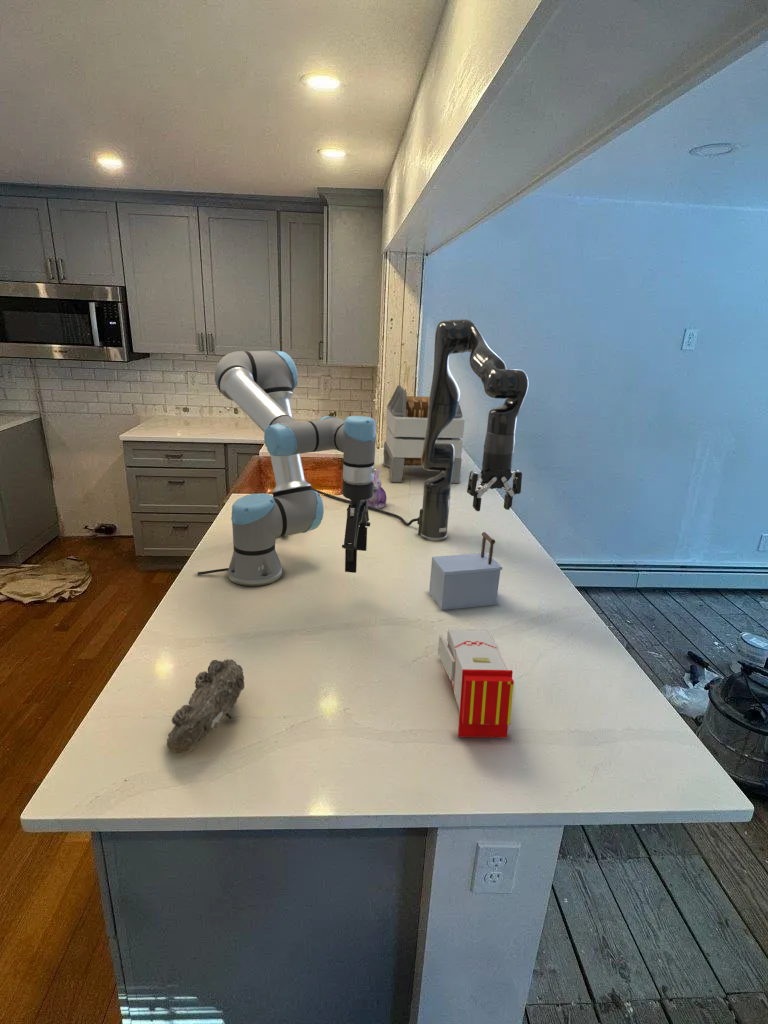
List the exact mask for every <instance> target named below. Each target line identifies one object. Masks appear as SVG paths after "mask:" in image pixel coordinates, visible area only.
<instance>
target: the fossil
mask: <svg viewBox="0 0 768 1024" xmlns="http://www.w3.org/2000/svg"><path fill="white" fill-rule="evenodd" d="M243 670H244V669H243V667H242V665H240V664H237V662H236V661H235V660H234V659H232V658H231V659H227V658H226V659H224V660H223V661H222V660H217V659H212V660H211V661H210V663H209V665H208V666H207V671H201V672H199V673H198V674H197V675H196V676H195V680H194V684H195V685H194V687H195V689H194V690H193V693H192V694H191V697H190V698H189V700H188V704H184V705H182V706H181V707H180V709H177V710H176V711H175V713H174V715H173V716H172V718H171V723H172V724H173V727H172V730H171V731H170V732H168V734H167V738H166V741H167V742H166V745H167V749H168V750H169V751H173V752H174V753H176V754H178V753H182V752H188V751H189V752H192V751H193V750H195V748H196V747H197V746H199V744H200V743H201V742H203V741H204V740H205V739H206V738H207V737H208V736H209V735H210V734H211V733H212V732H214V730H215V729H217V727H218V726H219V724H220V722H221V721H222V720H223V719H224V718H225V716H226V717H227V719H229V720H233V717H232V715H230V714H229V710H230V709H231V708H234V706H235V704H236V703H237V702H238V699H239V697H240V695H241V693H242V691H243V690H245V689H244V688H245V675H244V671H243Z"/></svg>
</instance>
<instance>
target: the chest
mask: <svg viewBox="0 0 768 1024" xmlns="http://www.w3.org/2000/svg"><path fill="white" fill-rule="evenodd" d="M430 564H431V565H430V579H429V589H428V590H429V591H428V594H429V596H430V597H431V598H432V599H433V601H434V602H435V603H436V605H437V606H438V608H439V610H441V611H447V610H457V609H467V608H475V607H485V606H486V607H487V606H493V605H497V601H498V600H497V599H498V591H499V584H500V577H501V576H500V575H501V570H498V571H487V572H475V573H463V574H452V575H444V574H443V573H442V571H441V570H440V569H439V568H438V567H437V565H436V564H435V563H434V562H433V561H432V560H431V563H430Z"/></svg>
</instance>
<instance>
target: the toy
mask: <svg viewBox="0 0 768 1024" xmlns="http://www.w3.org/2000/svg"><path fill="white" fill-rule="evenodd" d="M446 640H447V643H446V641H445V639H444V636H443V635H442V634H439V637H438V646H437V656H438V657H439V659H440V661H441V663H442V666H443V668H444V670H445V672H446V674H447V677H448V679H449V681H450V684H451V687H452V690H453V693H454V697H455V701H456V705H457V708H458V711H459V714H458V715H459V716H458V730H457V731H458V732H457V737H458V738H508V731H509V726H510V725H511V717H512V707H513V697H514V696H513V695H514V684H515V680H514V679H513V673H514V671H513V670H512V669H508V667H507V665H506V662H505V661H504V659H503V658H502V655H501V653H500V651H499V649H498V647H497V643H496V639H495V637H494V635H493V634H491V632H490V631H489V629H467V628H466V629H465V628H463V629H461V628H460V629H459V628H448V630H447V639H446Z"/></svg>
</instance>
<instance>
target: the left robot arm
mask: <svg viewBox="0 0 768 1024" xmlns="http://www.w3.org/2000/svg"><path fill="white" fill-rule="evenodd" d="M214 370H215V371H214V382H215V386H216V388H217V389H218V391H219V392H220V393H221V394H222V396H223V397H224V398H226V399H227V400H229V401H233V402H234V403H235V404H236V405H237V406H238V407H239V408H240V409H241V410H242V411H243V412H244V413H245V415H247V416H248V417H249V418H250V419H251V420H252V422H254V424H256V426H257V427H258V428H259V429H260V430H261V431H262V432H263V433H264V434H263V438H264V445H265V447H266V450H267V452H268V453H269V457H270V461H271V466H272V471H273V476H274V483H275V487H274V488H273V490H272V495H271V494H269V493H264V492H262V493H261V492H260V493H258V492H257V493H251V494H250V493H249V494H246V495H243V496H242V497H239V498H238V499H236V500H235V501H234V502H233V504H232V507H231V519H230V520H231V528H232V543H233V551H232V555H231V559H230V563H229V566H228V567H226V568H225V567H224V568H218V569H210V570H205V571H204V570H203V571H198V572H197V575H201V576H202V575H207V574H214V573H221V572H227V573H228V574H227V575H228V578H229V581H230V582H232V583H234V584H236V585H239V586H244V587H259V586H260V587H261V586H265V585H270V584H273V583H274V582H277V581H278V580H279V579H281V577H282V576H283V566H282V564H281V561H280V558H279V555H278V552H277V550H276V539H278V538H279V539H280V538H285V537H289V536H293V535H298V534H305V533H308V532H309V531H314V530H316V529H317V528H319V527H320V525H321V522H322V521H323V518H324V511H325V510H324V509H325V507H324V502H323V499H322V497H321V494H320V493H318V492H316V491H313V490H312V488H313V487H312V484H311V483H310V482H308V481H307V480H306V479H305V478H306V477H305V473H304V468H303V463H302V462H303V461H302V457H301V454H307V453H308V454H309V453H316V452H317V453H318V452H323V451H324V452H325V451H330V450H331V451H332V450H333V451H334V450H335V451H338V452H341V453H342V454H343V462H342V480H343V482H342V496H343V497H344V499H346V500H349V501H351V503H348V507H347V508H346V522H345V530H344V531H345V532H344V541H343V544H341V548H342V549H344V550H345V551H344V552H345V553H344V554H345V555H344V573H352V574H353V573H354V574H356V573H357V563H358V562H357V561H358V551H362V552H366V551H367V550H368V549H367V548H368V547H367V546H368V545H367V544H368V527H369V528H370V527H371V522H370V517H369V516H370V515H369V509H368V500H367V499H370V498H372V497H373V490H374V483H373V482H372V481H373V480H374V474H375V473H376V472H377V470H378V469H376V468H375V460H376V459H375V458H376V441H377V440H376V438H377V432H376V421H375V419H374V418H373V417H370V416H364V415H350V416H347V417H346V418H344V419H341V418H339V417H337V416H330V415H326V416H325V415H324V416H322V417H321V418H319V419H318V420H307V421H297V420H296V419H295V418H294V417H293V412H292V407H291V401H290V400H291V398H292V397H293V396H294V390H295V389H296V388H297V386H298V378H299V377H298V370H297V366H296V364H295V361H294V360H293V358H292V357H291V356H290V355H289V354H288V353H286V352H285V351H282V350H281V351H280V350H274V349H270V350H246V351H245V350H244V351H243V350H236V351H232V352H230V353H227V354H226V355H224V356H223V357H222V358H221V359H220V360H219V361H218V363H217V364H216V367H215V369H214ZM284 536H285V537H284Z"/></svg>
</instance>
